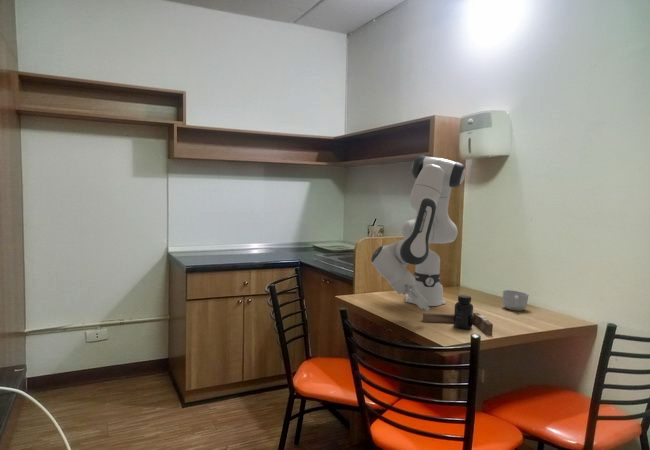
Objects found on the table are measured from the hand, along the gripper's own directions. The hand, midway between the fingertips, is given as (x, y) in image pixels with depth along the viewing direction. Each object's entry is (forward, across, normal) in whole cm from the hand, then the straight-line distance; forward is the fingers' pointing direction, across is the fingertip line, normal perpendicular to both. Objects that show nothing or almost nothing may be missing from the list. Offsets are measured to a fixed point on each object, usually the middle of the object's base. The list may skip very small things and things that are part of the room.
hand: (427, 309), depth 175 cm
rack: (+12, 0, -3) cm, 12 cm away
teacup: (+38, +32, -28) cm, 57 cm away
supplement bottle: (+14, -1, -5) cm, 15 cm away
